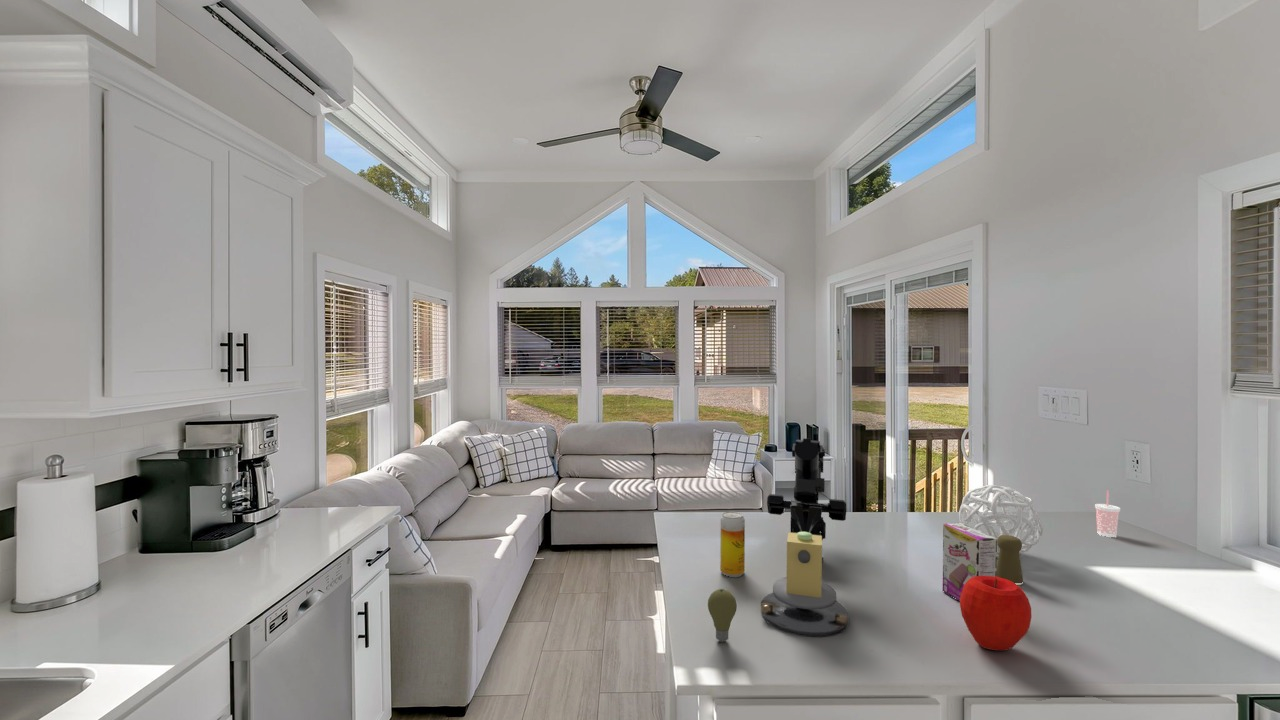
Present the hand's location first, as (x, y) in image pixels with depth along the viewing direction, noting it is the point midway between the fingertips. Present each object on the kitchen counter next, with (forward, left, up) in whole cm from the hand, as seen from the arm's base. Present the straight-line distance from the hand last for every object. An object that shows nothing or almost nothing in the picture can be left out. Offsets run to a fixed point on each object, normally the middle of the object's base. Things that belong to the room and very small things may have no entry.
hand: (805, 538), depth 134 cm
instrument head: (+11, +10, -8) cm, 17 cm away
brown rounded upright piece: (-47, +24, -12) cm, 54 cm away
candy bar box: (-26, +25, -12) cm, 38 cm away
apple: (-10, +38, -12) cm, 41 cm away
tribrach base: (+11, +10, -12) cm, 19 cm away
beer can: (+9, -15, -12) cm, 21 cm away
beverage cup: (-111, +23, -12) cm, 114 cm away
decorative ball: (-63, +14, -12) cm, 65 cm away
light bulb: (+33, +9, -12) cm, 36 cm away
